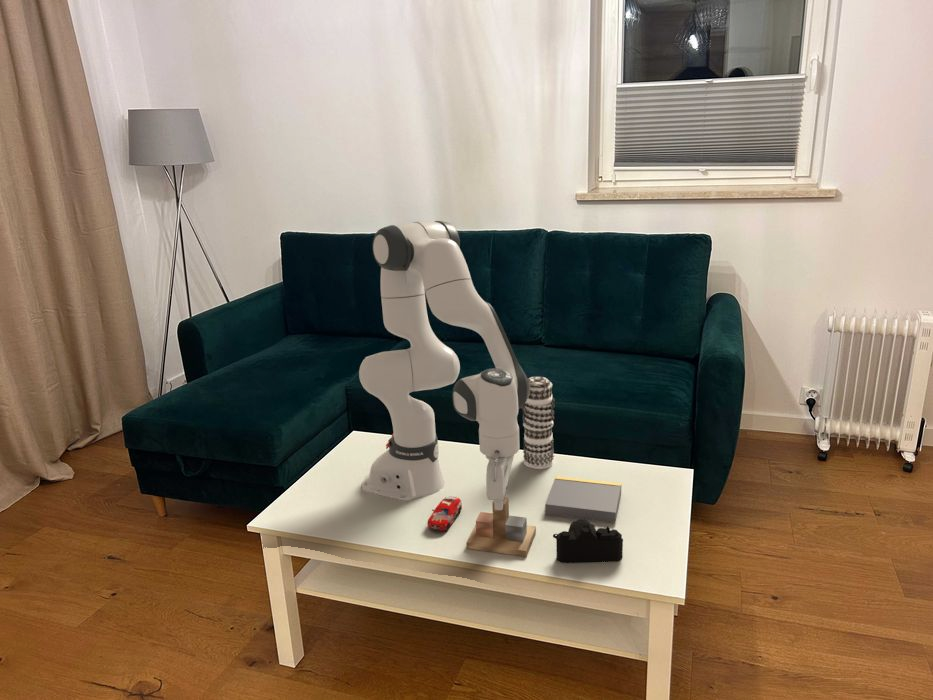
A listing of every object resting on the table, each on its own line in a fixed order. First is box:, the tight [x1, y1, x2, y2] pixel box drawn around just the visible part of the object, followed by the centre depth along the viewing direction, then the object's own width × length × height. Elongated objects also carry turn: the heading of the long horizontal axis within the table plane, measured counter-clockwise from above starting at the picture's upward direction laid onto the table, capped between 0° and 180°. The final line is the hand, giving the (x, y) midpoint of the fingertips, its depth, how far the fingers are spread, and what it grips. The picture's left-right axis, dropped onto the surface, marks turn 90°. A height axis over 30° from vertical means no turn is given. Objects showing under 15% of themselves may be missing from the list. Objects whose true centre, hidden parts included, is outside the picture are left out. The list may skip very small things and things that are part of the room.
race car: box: [426, 496, 463, 532], centre depth 176 cm, size 13×5×4 cm, turn 159°
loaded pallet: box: [465, 496, 537, 558], centre depth 166 cm, size 14×10×12 cm
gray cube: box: [505, 515, 528, 542], centre depth 165 cm, size 4×4×4 cm
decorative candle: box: [521, 375, 556, 470], centre depth 199 cm, size 9×9×25 cm
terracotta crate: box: [475, 511, 494, 538], centre depth 167 cm, size 4×4×4 cm
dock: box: [544, 475, 622, 524], centre depth 181 cm, size 17×14×3 cm
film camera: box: [552, 519, 624, 564], centre depth 161 cm, size 15×10×9 cm, turn 89°
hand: (501, 497), depth 163 cm, fingers open, 8 cm apart
